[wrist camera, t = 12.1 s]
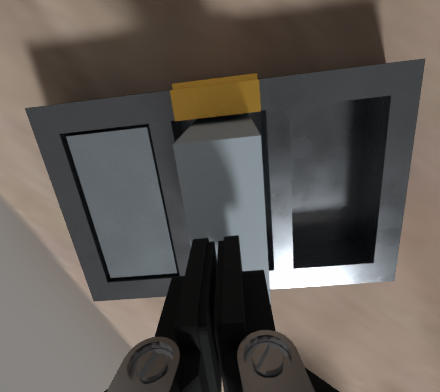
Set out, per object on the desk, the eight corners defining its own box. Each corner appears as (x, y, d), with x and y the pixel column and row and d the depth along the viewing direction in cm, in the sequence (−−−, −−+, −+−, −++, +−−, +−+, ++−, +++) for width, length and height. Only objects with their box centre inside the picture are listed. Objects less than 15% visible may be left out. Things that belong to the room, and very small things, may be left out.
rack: (386, 57, 17) (431, 50, 13) (368, 250, 21) (397, 285, 18) (61, 98, 18) (17, 102, 14) (113, 269, 23) (91, 305, 19)
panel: (248, 112, 17) (261, 135, 10) (256, 226, 20) (271, 309, 13) (197, 118, 18) (172, 144, 10) (212, 230, 21) (202, 313, 13)
